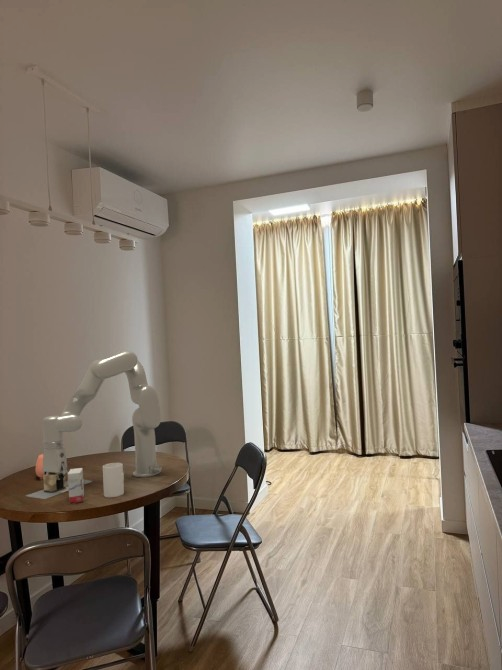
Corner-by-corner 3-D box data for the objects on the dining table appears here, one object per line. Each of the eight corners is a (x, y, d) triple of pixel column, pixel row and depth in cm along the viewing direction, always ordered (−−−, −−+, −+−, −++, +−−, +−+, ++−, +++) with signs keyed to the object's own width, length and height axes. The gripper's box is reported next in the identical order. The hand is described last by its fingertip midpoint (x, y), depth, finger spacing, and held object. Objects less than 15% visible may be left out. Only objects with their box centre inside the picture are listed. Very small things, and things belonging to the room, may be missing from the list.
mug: (119, 487, 205) (118, 459, 205) (126, 494, 194) (125, 465, 194) (100, 491, 201) (98, 462, 201) (106, 498, 190) (104, 468, 190)
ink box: (82, 502, 187) (80, 472, 187) (68, 504, 186) (67, 474, 186) (84, 496, 195) (83, 467, 196) (71, 497, 194) (70, 468, 194)
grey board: (93, 483, 214) (93, 480, 214) (44, 501, 191) (44, 499, 191) (74, 480, 219) (74, 478, 219) (24, 498, 196) (24, 495, 196)
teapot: (36, 473, 236) (35, 449, 236) (62, 470, 240) (61, 446, 240) (34, 484, 217) (33, 457, 217) (62, 480, 222) (61, 454, 222)
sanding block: (65, 488, 204) (65, 471, 204) (52, 493, 198) (51, 476, 198) (57, 487, 207) (57, 471, 207) (44, 492, 200) (43, 475, 201)
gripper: (74, 444, 202) (76, 487, 202) (47, 442, 210) (49, 483, 210) (60, 448, 196) (62, 492, 195) (32, 446, 204) (34, 488, 203)
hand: (55, 487), depth 203 cm, fingers closed on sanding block, 5 cm apart
